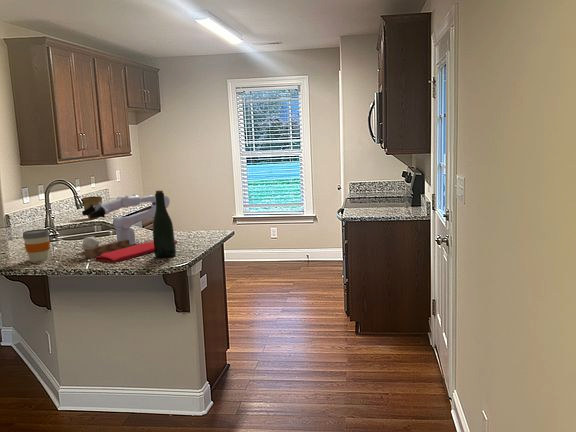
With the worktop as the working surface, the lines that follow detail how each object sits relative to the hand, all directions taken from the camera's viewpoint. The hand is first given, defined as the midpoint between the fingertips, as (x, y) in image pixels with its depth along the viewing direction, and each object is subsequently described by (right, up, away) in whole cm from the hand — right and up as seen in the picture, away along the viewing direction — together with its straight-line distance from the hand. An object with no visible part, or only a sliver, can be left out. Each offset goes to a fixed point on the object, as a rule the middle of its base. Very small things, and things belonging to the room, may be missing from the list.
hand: (86, 214), depth 295 cm
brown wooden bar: (+12, -20, 0) cm, 23 cm away
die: (0, -20, +7) cm, 21 cm away
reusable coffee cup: (-22, -23, -6) cm, 33 cm away
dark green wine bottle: (+45, -21, -16) cm, 52 cm away
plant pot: (-41, -3, +130) cm, 136 cm away
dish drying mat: (+28, -20, -4) cm, 35 cm away
